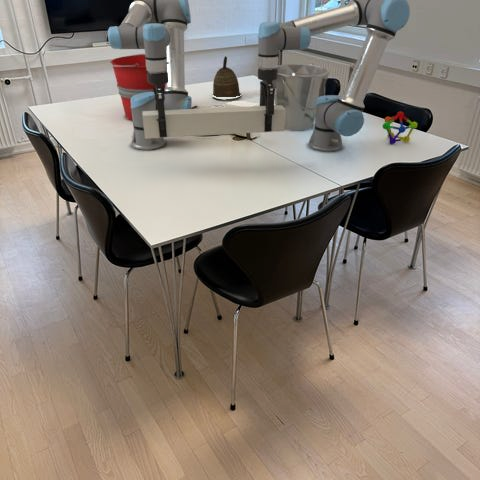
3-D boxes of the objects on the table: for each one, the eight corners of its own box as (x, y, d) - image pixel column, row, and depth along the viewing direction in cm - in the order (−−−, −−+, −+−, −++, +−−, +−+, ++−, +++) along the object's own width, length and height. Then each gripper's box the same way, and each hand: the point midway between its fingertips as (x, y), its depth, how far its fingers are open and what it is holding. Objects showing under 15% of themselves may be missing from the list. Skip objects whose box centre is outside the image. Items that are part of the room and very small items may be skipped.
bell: (227, 105, 294) (202, 96, 282) (238, 66, 289) (213, 55, 277) (243, 108, 280) (217, 98, 268) (255, 66, 275) (229, 55, 263)
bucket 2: (296, 138, 215) (301, 78, 201) (255, 124, 234) (256, 68, 219) (335, 125, 232) (342, 70, 217) (294, 113, 251) (297, 61, 236)
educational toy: (377, 146, 209) (379, 114, 202) (384, 138, 219) (386, 107, 211) (411, 149, 202) (415, 116, 195) (417, 141, 212) (420, 109, 204)
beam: (144, 138, 168) (142, 115, 163) (144, 133, 173) (142, 111, 168) (284, 131, 177) (285, 109, 172) (280, 126, 182) (281, 105, 177)
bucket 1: (124, 106, 262) (117, 51, 246) (183, 106, 262) (180, 52, 246) (108, 124, 233) (99, 63, 217) (174, 124, 232) (170, 64, 216)
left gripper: (169, 76, 152) (174, 141, 164) (166, 66, 168) (171, 126, 180) (147, 77, 150) (153, 143, 163) (146, 66, 166) (152, 127, 179)
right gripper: (284, 72, 159) (281, 135, 171) (271, 62, 174) (269, 120, 187) (264, 73, 157) (262, 136, 170) (252, 63, 173) (251, 122, 185)
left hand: (162, 134), depth 171 cm, fingers closed on beam, 6 cm apart
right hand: (265, 128), depth 178 cm, fingers closed on beam, 6 cm apart
